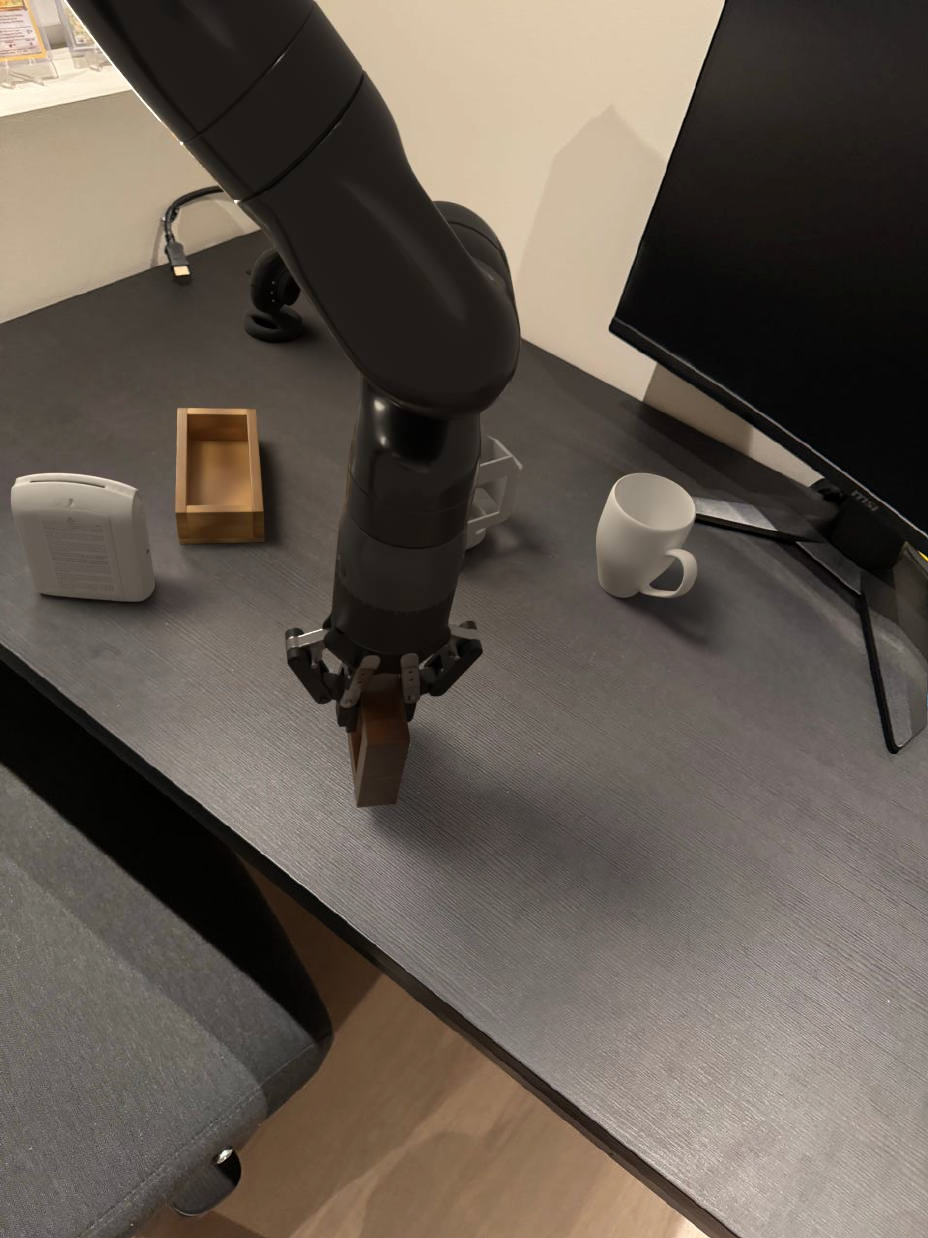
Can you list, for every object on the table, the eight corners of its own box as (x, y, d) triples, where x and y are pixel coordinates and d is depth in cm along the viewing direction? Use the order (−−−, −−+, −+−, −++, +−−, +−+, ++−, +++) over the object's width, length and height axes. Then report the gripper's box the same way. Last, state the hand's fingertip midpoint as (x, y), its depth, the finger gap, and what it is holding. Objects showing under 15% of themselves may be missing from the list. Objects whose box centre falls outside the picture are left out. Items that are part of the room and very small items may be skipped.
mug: (564, 563, 88) (595, 480, 80) (628, 547, 91) (664, 464, 83) (627, 649, 82) (667, 568, 73) (693, 627, 85) (739, 547, 77)
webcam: (280, 350, 105) (280, 273, 97) (230, 328, 106) (226, 251, 99) (314, 324, 110) (316, 249, 102) (265, 303, 111) (264, 228, 104)
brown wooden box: (356, 808, 63) (367, 743, 56) (342, 699, 69) (350, 629, 63) (396, 804, 64) (411, 740, 57) (378, 697, 70) (390, 627, 63)
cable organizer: (508, 541, 89) (533, 450, 80) (407, 577, 83) (423, 484, 74) (473, 502, 92) (494, 410, 83) (374, 534, 86) (385, 439, 77)
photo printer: (160, 572, 78) (144, 468, 69) (151, 607, 76) (133, 503, 66) (43, 563, 77) (11, 456, 68) (29, 598, 74) (-7, 491, 65)
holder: (179, 544, 81) (175, 512, 78) (180, 439, 91) (177, 407, 88) (264, 542, 83) (263, 511, 80) (257, 439, 93) (256, 408, 90)
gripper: (496, 518, 55) (453, 676, 68) (276, 519, 51) (275, 686, 64) (523, 604, 50) (472, 756, 63) (283, 612, 47) (280, 772, 60)
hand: (372, 720), depth 64 cm, fingers closed on brown wooden box, 3 cm apart
